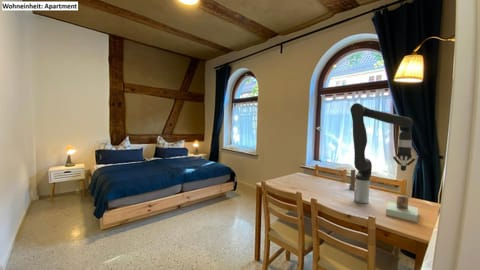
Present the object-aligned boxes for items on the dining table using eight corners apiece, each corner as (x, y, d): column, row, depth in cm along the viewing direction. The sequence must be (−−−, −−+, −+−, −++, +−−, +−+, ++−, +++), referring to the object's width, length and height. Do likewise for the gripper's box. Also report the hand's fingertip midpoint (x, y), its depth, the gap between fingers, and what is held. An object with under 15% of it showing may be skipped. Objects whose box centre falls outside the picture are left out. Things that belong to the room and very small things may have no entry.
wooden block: (362, 189, 191) (363, 169, 190) (351, 190, 189) (352, 170, 188) (359, 188, 195) (360, 168, 193) (349, 188, 193) (349, 169, 192)
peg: (395, 213, 140) (396, 196, 139) (396, 210, 145) (397, 194, 144) (407, 216, 136) (408, 198, 135) (407, 213, 141) (408, 196, 140)
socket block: (385, 214, 139) (386, 208, 139) (388, 207, 152) (388, 201, 151) (417, 222, 129) (417, 215, 129) (417, 213, 141) (417, 207, 141)
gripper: (417, 146, 146) (415, 171, 147) (393, 145, 154) (392, 168, 155) (417, 147, 140) (415, 173, 141) (392, 145, 149) (391, 170, 150)
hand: (403, 170), depth 148 cm, fingers closed
